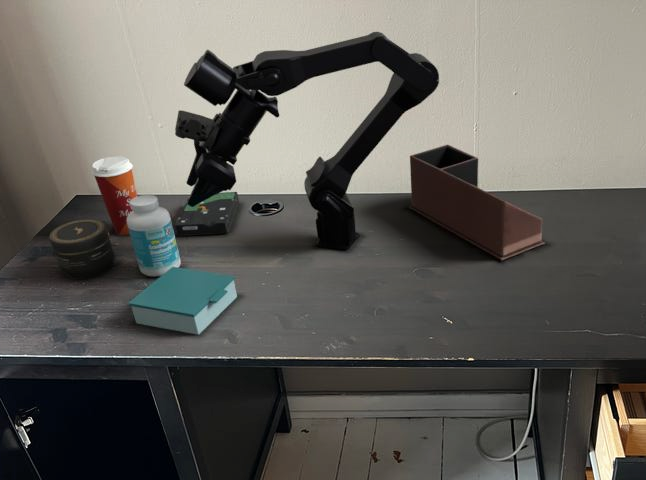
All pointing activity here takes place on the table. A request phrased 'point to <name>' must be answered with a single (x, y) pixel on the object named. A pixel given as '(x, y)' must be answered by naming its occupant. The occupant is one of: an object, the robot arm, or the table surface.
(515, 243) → the desk organizer
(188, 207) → the disk drive
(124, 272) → the table surface
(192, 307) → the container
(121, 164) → the paper cup
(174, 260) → the pill bottle
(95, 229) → the jar
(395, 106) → the robot arm
